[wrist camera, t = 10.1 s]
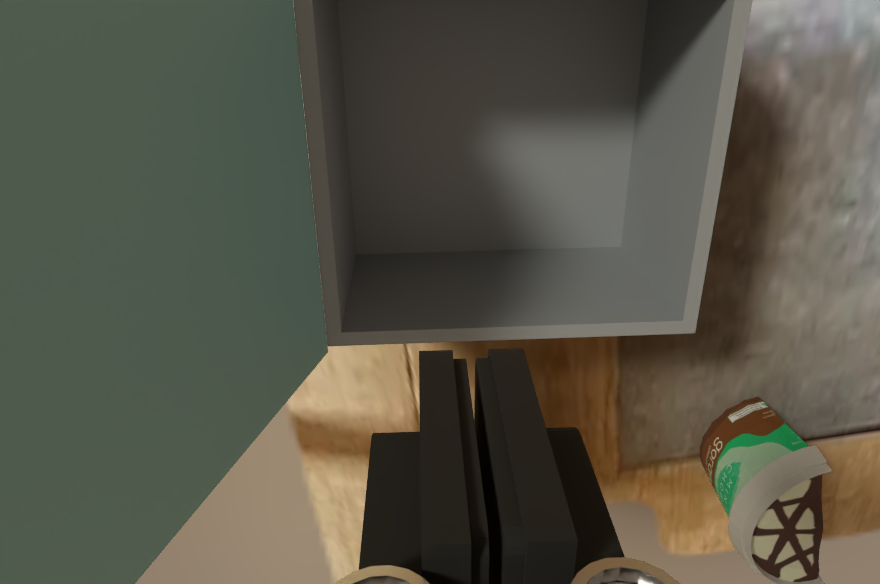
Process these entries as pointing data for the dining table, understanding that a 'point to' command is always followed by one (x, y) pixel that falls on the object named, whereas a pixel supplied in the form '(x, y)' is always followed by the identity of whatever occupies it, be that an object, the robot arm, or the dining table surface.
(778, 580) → the food container
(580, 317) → the carton
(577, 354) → the dining table surface
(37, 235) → the lid
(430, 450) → the robot arm
